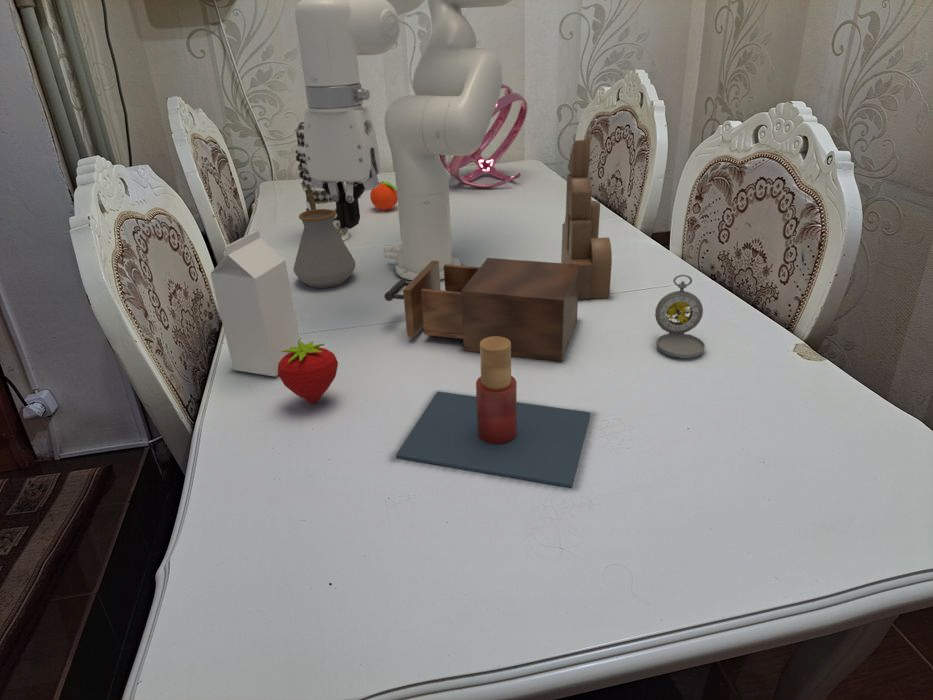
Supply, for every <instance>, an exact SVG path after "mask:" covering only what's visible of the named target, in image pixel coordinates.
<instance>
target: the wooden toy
mask: <svg viewBox="0 0 933 700" xmlns="http://www.w3.org/2000/svg"><path fill="white" fill-rule="evenodd" d="M590 156H591V140H589V139H581V140H574V141H573V144H572V148H571V152H570V156H569V160H568V164H567V170H568V172H569V173H568V174H566V196H565V197H566V199H565V216H564V222H563V223H562V229H561V230H562V231H561V255H560V256H561V257H560V263H565V264H579V265H580V267H579V288H578V301H580V300H591V299H609V298H610V291H611V279H612V278H611V277H612V266H613V265H612V264H613V257H612V256H613V254H612V253H613V252H612V243H611V239H610V237H608V236H607V237H599V230H600V215H601V214H600V213H601V203H600V202H599V201H598V200H597V201H596V200H592V196H593V195H592V193H593V191H592V181H591V178H590V176H589V175H590Z"/></svg>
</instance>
